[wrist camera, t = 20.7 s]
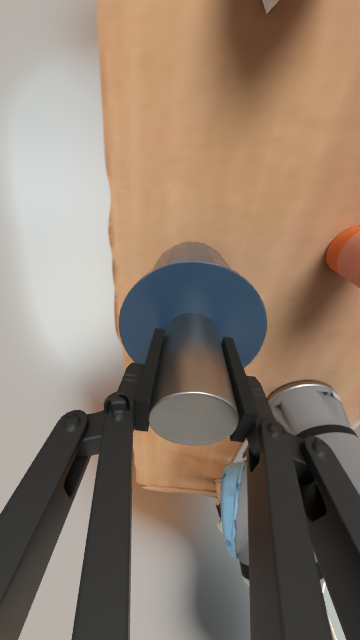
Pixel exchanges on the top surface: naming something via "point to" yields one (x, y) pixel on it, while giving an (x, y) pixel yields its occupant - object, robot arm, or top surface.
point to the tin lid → (193, 344)
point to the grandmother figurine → (218, 502)
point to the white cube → (269, 4)
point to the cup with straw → (346, 255)
